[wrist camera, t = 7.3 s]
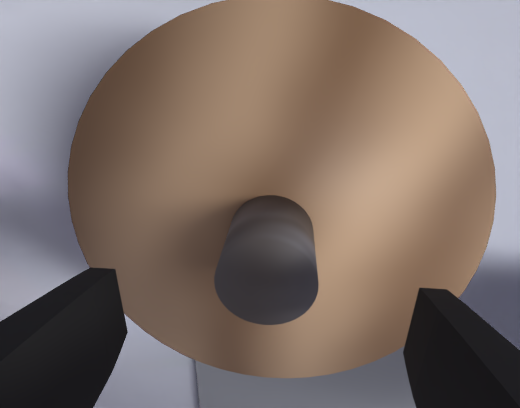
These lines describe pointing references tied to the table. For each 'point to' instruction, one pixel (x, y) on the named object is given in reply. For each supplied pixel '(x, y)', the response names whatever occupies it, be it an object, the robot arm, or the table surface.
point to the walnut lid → (280, 184)
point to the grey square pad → (310, 388)
